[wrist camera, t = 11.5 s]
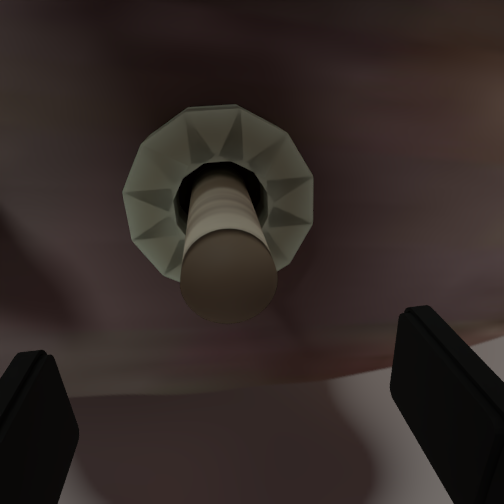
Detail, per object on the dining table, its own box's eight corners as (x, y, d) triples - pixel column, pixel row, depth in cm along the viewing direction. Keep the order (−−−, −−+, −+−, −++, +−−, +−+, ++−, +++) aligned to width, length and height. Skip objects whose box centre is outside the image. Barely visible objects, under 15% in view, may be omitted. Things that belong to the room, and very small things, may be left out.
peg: (188, 166, 28) (173, 242, 15) (244, 162, 28) (276, 232, 15) (194, 219, 29) (186, 328, 17) (247, 215, 30) (279, 318, 17)
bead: (121, 111, 26) (107, 117, 22) (299, 99, 27) (314, 103, 23) (150, 272, 31) (143, 298, 27) (300, 257, 31) (312, 281, 28)
